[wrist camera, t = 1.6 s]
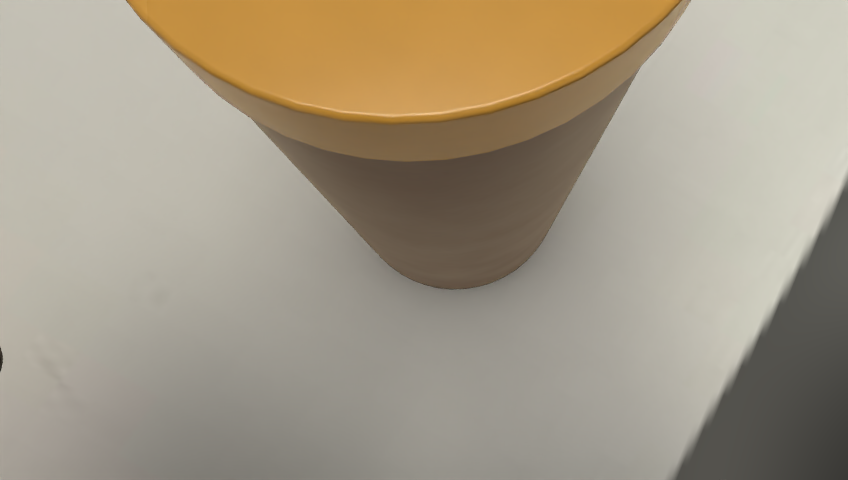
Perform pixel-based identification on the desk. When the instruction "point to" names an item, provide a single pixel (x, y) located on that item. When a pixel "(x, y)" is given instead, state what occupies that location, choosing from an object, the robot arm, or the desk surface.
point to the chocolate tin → (426, 109)
